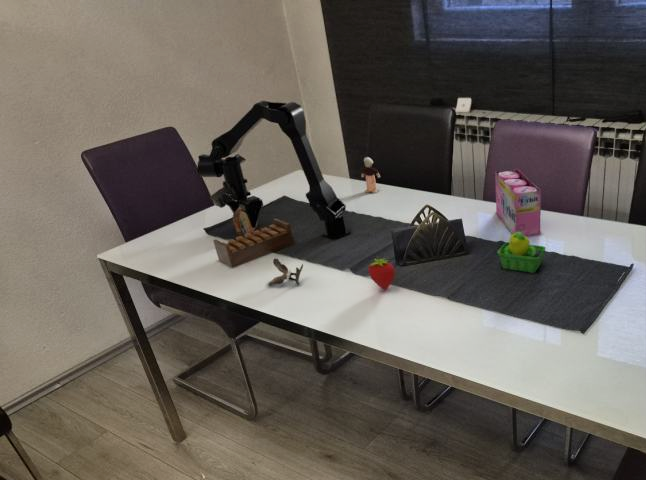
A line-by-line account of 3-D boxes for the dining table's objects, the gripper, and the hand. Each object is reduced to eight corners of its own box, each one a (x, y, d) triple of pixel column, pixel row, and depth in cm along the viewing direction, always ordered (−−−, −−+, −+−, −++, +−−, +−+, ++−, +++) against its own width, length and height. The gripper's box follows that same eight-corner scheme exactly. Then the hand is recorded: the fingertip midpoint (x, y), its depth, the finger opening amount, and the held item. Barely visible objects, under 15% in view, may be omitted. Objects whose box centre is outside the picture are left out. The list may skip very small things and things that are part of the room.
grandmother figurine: (361, 193, 221) (355, 159, 215) (364, 190, 225) (359, 155, 218) (381, 193, 220) (376, 158, 213) (384, 189, 223) (379, 155, 216)
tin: (246, 240, 190) (239, 214, 186) (236, 240, 190) (229, 215, 186) (260, 222, 203) (253, 198, 198) (251, 223, 203) (244, 198, 198)
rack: (294, 243, 185) (289, 223, 182) (232, 267, 173) (225, 247, 170) (280, 237, 190) (275, 218, 187) (219, 260, 178) (212, 240, 175)
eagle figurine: (307, 271, 165) (276, 265, 166) (300, 258, 158) (268, 251, 159) (298, 295, 162) (266, 289, 163) (290, 283, 155) (258, 276, 156)
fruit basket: (546, 263, 162) (547, 224, 155) (535, 278, 155) (536, 237, 149) (506, 258, 166) (506, 219, 160) (495, 272, 159) (493, 232, 153)
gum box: (494, 211, 197) (492, 170, 190) (517, 207, 198) (516, 167, 191) (515, 238, 177) (515, 193, 170) (541, 234, 178) (541, 190, 171)
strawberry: (386, 298, 151) (381, 262, 146) (366, 291, 155) (360, 255, 150) (402, 289, 155) (398, 253, 149) (382, 282, 159) (377, 247, 153)
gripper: (196, 179, 188) (210, 225, 196) (224, 189, 177) (238, 239, 185) (228, 169, 194) (241, 215, 203) (257, 179, 183) (270, 227, 191)
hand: (246, 224), depth 195 cm, fingers open, 9 cm apart
